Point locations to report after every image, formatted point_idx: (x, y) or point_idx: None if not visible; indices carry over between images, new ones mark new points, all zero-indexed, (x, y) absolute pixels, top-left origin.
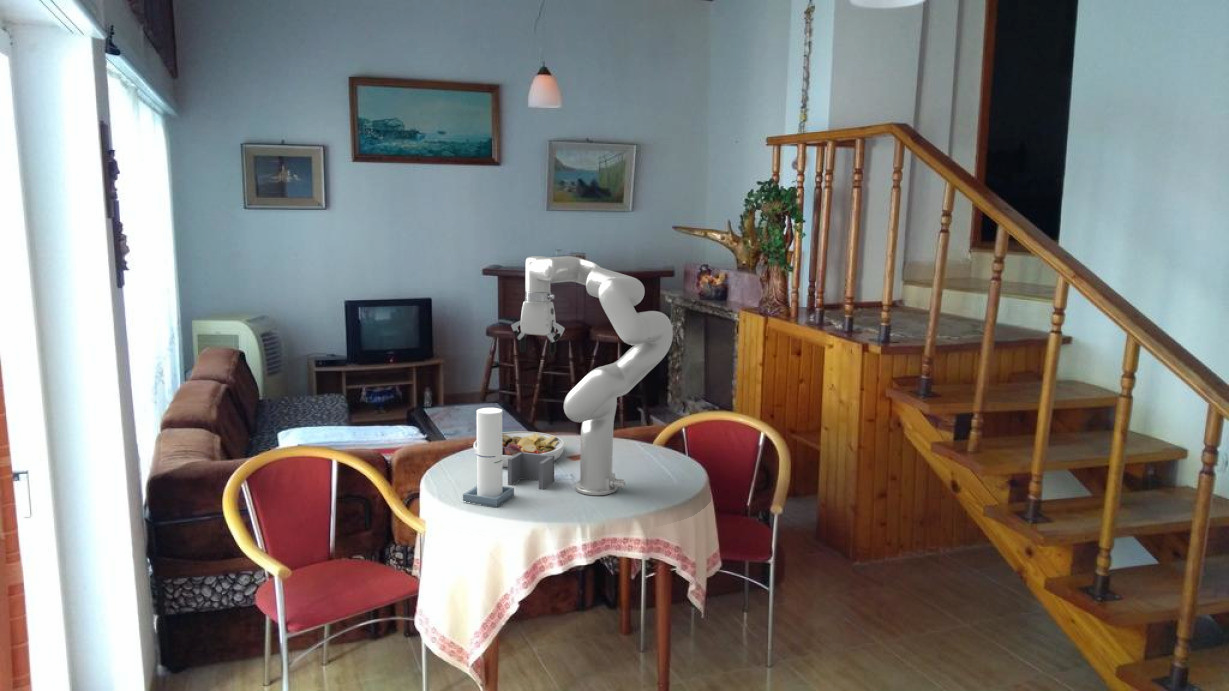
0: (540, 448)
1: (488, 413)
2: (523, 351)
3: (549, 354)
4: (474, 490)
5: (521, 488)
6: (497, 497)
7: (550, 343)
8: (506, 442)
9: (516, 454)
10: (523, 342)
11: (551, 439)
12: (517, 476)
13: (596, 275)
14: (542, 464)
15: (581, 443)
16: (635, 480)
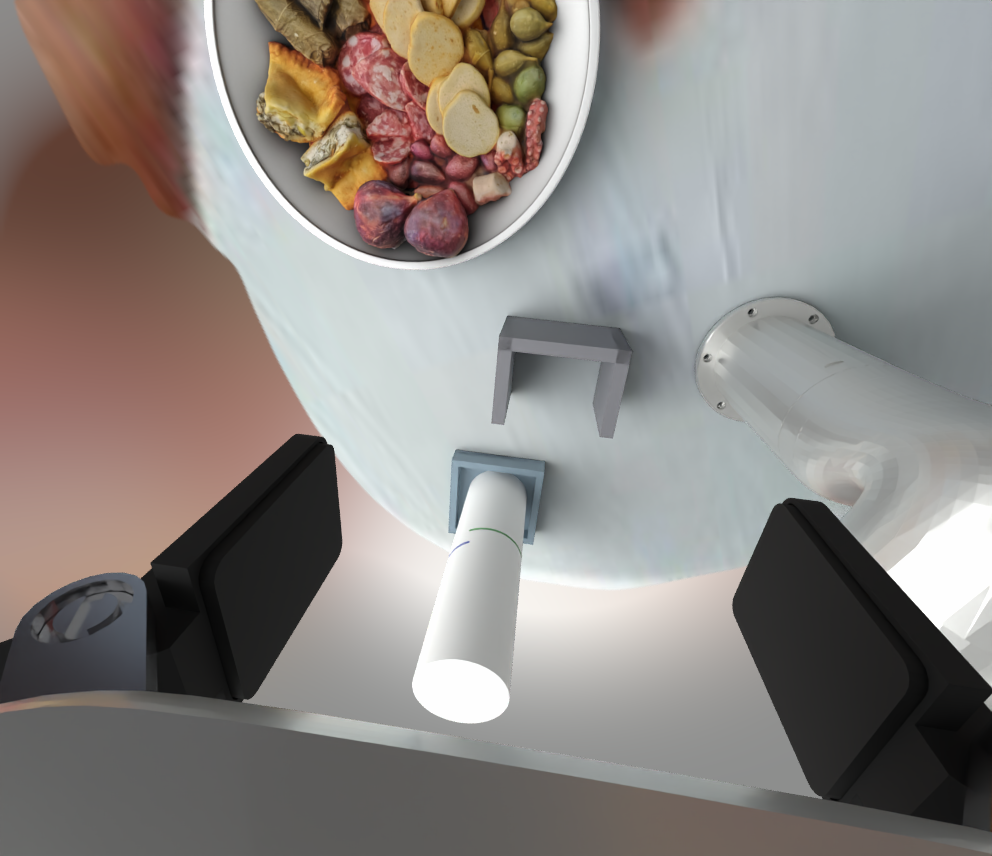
0: (500, 67)
1: (475, 720)
2: (335, 525)
3: (740, 614)
4: (457, 498)
5: (544, 408)
6: (530, 535)
7: (843, 798)
8: (325, 20)
9: (499, 371)
10: (265, 633)
11: None
12: (513, 363)
13: None
14: (611, 436)
15: (775, 453)
16: (906, 237)
